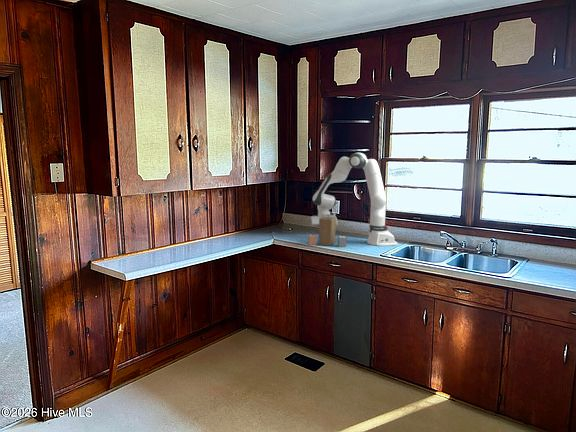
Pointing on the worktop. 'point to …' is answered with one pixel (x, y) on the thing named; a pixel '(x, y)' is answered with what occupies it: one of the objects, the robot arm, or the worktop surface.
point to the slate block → (341, 241)
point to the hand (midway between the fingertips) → (325, 230)
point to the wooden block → (327, 231)
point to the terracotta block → (312, 239)
